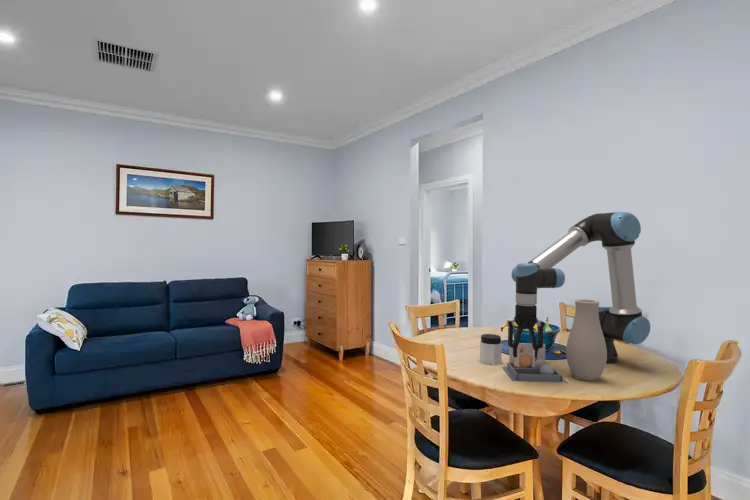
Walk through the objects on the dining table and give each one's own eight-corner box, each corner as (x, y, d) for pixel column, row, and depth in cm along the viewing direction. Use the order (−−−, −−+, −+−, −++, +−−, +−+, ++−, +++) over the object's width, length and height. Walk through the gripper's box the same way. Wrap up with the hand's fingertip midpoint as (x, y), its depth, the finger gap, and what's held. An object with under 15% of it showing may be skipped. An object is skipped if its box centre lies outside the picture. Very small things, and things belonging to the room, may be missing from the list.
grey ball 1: (545, 369, 165) (545, 357, 165) (549, 374, 160) (549, 361, 160) (532, 369, 166) (532, 357, 166) (536, 373, 161) (536, 360, 161)
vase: (575, 385, 150) (576, 303, 150) (560, 373, 164) (561, 298, 164) (613, 386, 150) (615, 303, 149) (595, 374, 164) (596, 298, 163)
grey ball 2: (551, 375, 158) (551, 362, 158) (556, 380, 153) (556, 366, 153) (537, 375, 159) (538, 362, 159) (542, 379, 154) (542, 366, 154)
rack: (552, 370, 168) (552, 343, 167) (568, 385, 151) (568, 355, 150) (501, 369, 169) (501, 342, 169) (512, 383, 152) (512, 353, 152)
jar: (491, 368, 170) (491, 339, 170) (476, 363, 177) (476, 335, 177) (505, 364, 175) (505, 336, 175) (490, 360, 182) (490, 333, 182)
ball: (529, 364, 159) (529, 351, 159) (533, 368, 154) (533, 355, 154) (516, 364, 159) (516, 351, 159) (519, 368, 154) (520, 354, 154)
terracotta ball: (524, 369, 166) (524, 356, 166) (528, 373, 161) (528, 360, 161) (511, 369, 166) (512, 356, 166) (515, 373, 161) (515, 360, 161)
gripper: (547, 303, 159) (545, 363, 160) (499, 302, 160) (498, 362, 161) (554, 306, 152) (552, 369, 152) (504, 305, 153) (502, 368, 153)
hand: (524, 365), depth 157 cm, fingers closed on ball, 5 cm apart
